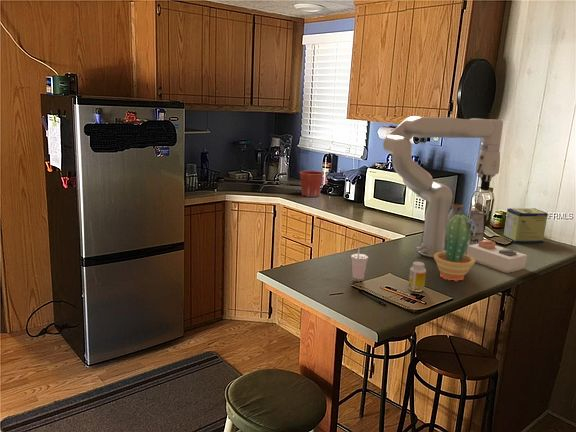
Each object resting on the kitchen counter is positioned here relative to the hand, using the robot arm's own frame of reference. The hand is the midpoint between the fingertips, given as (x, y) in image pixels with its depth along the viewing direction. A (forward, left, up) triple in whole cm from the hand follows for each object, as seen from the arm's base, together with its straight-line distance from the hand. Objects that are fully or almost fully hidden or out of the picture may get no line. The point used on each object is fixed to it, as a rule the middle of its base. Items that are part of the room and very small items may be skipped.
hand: (484, 189), depth 216 cm
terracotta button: (-6, -9, -26) cm, 29 cm away
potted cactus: (-36, -16, -29) cm, 49 cm away
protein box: (+39, +2, -29) cm, 49 cm away
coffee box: (+9, +8, -29) cm, 32 cm away
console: (-6, -14, -29) cm, 33 cm away
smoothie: (-72, -2, -29) cm, 78 cm away
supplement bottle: (-59, -19, -29) cm, 69 cm away
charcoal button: (-6, -19, -28) cm, 34 cm away
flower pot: (+3, +137, -29) cm, 140 cm away
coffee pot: (+22, +30, -29) cm, 47 cm away
